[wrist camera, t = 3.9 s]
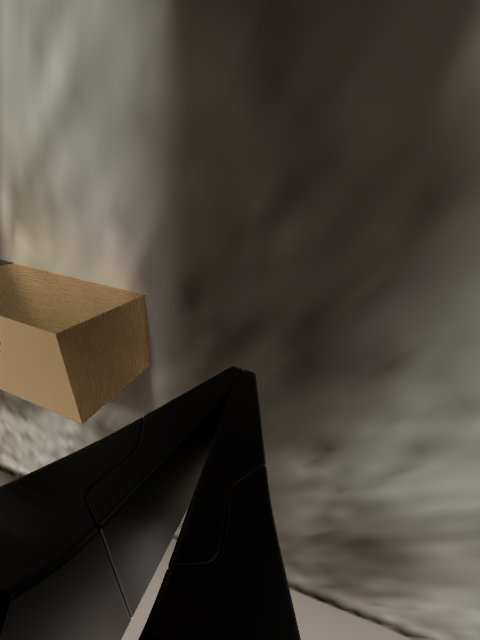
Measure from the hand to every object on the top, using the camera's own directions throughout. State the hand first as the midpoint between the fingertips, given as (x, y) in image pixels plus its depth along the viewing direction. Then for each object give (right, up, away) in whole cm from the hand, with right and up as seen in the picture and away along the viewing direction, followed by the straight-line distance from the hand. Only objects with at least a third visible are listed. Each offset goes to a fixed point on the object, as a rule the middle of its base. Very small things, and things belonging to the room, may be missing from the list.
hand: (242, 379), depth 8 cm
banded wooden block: (-12, +3, +4) cm, 13 cm away
